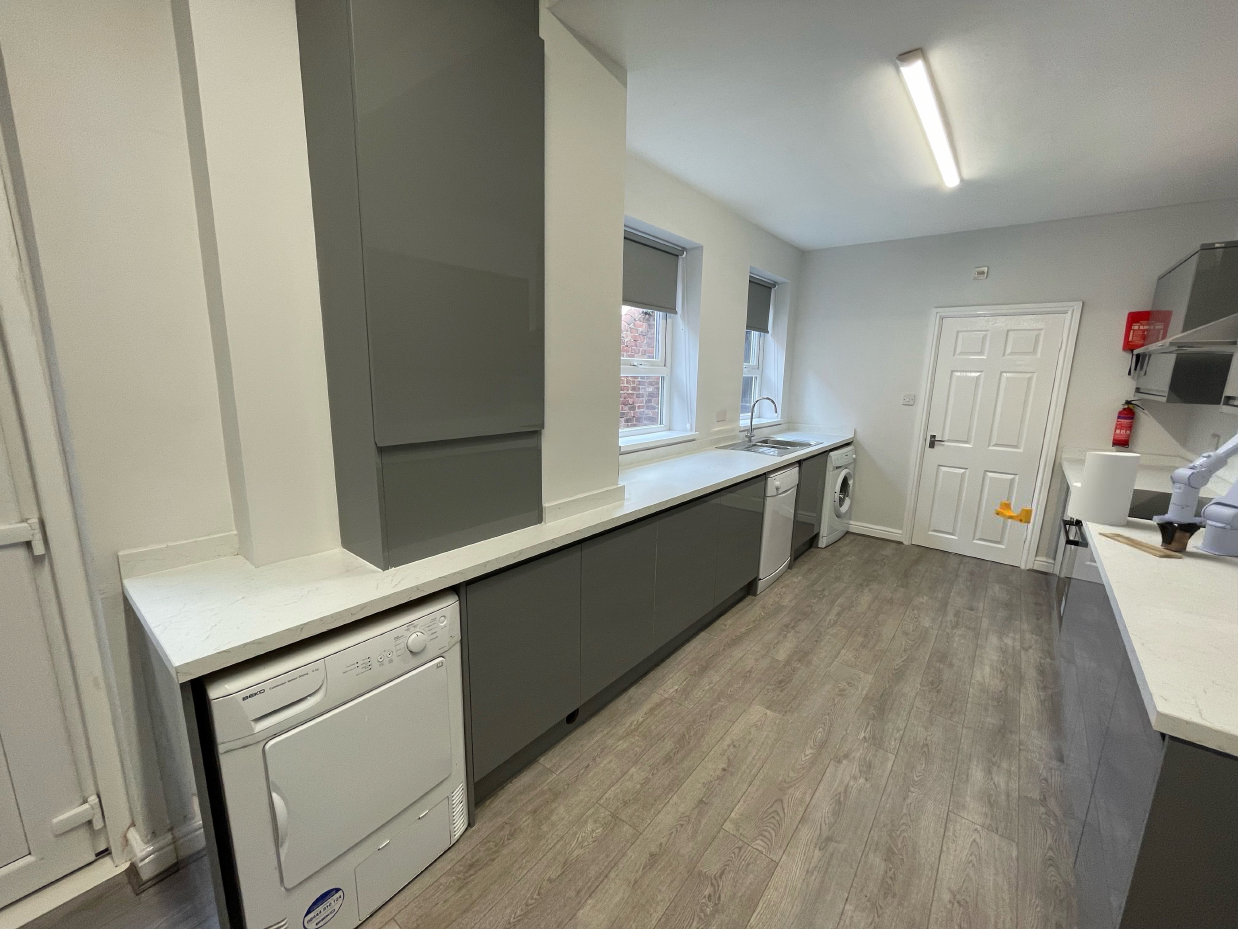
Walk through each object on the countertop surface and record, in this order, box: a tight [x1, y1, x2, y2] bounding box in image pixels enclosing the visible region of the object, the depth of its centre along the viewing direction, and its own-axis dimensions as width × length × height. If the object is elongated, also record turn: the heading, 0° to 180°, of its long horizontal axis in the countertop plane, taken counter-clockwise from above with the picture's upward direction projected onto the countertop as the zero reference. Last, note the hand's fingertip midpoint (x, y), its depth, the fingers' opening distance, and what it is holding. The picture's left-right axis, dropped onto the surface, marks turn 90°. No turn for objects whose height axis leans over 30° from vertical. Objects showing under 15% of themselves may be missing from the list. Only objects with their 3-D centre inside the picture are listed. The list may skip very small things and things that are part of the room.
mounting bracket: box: [994, 500, 1034, 524], centre depth 195 cm, size 12×4×6 cm, turn 3°
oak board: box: [1098, 532, 1184, 559], centre depth 167 cm, size 7×22×1 cm, turn 175°
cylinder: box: [1066, 451, 1142, 526], centre depth 195 cm, size 17×17×28 cm
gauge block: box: [1160, 530, 1190, 552], centre depth 163 cm, size 4×4×6 cm
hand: (1173, 544), depth 163 cm, fingers closed on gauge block, 4 cm apart
